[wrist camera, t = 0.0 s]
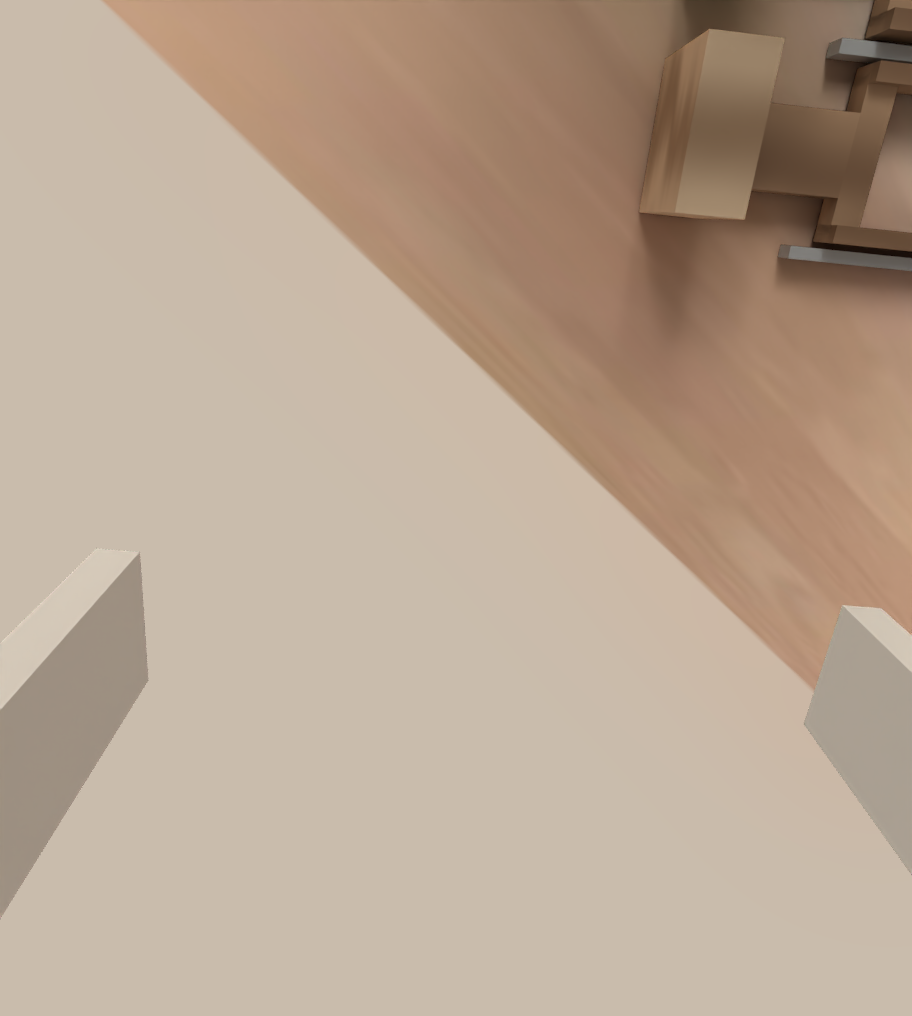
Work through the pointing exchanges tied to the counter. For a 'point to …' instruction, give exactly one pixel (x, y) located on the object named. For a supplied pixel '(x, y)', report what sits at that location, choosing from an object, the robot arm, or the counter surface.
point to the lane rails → (870, 54)
